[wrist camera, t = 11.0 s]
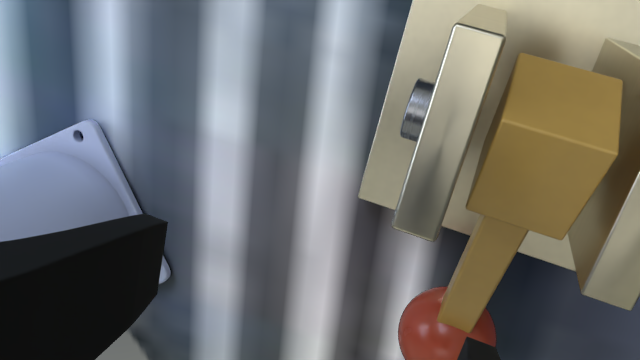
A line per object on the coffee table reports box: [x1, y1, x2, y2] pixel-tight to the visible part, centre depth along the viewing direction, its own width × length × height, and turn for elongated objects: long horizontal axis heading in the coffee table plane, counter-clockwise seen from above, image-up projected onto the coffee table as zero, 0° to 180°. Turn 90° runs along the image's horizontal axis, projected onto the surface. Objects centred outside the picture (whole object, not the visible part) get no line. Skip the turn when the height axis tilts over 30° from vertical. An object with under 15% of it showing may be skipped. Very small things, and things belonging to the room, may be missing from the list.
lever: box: [398, 53, 623, 360], centre depth 16 cm, size 12×3×3 cm, turn 166°
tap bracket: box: [358, 0, 640, 311], centre depth 16 cm, size 11×9×10 cm
